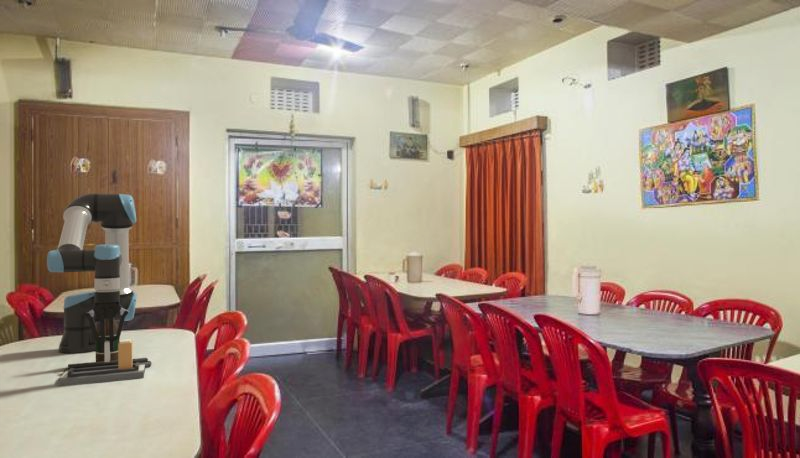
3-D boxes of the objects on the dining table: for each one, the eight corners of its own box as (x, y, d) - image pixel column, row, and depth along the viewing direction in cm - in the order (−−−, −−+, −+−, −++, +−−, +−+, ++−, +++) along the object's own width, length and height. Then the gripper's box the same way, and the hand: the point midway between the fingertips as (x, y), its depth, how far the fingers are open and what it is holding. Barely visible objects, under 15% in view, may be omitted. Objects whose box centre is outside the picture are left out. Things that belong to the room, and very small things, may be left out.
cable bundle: (63, 375, 184) (63, 365, 184) (65, 372, 188) (65, 363, 188) (151, 367, 195) (151, 358, 195) (151, 365, 198) (151, 356, 198)
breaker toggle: (119, 368, 185) (119, 339, 185) (132, 366, 187) (132, 338, 187) (118, 370, 182) (118, 342, 182) (131, 369, 183) (131, 341, 183)
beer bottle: (109, 367, 195) (109, 300, 195) (90, 366, 197) (90, 299, 197) (124, 361, 203) (124, 297, 203) (106, 361, 204) (106, 297, 204)
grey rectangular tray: (66, 376, 183) (66, 366, 183) (145, 369, 192) (145, 359, 192) (59, 386, 172) (59, 375, 172) (143, 377, 181) (143, 367, 181)
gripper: (83, 292, 176) (83, 365, 176) (128, 290, 181) (128, 361, 181) (86, 290, 183) (86, 360, 183) (129, 288, 188) (129, 356, 188)
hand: (107, 360), depth 182 cm, fingers closed
